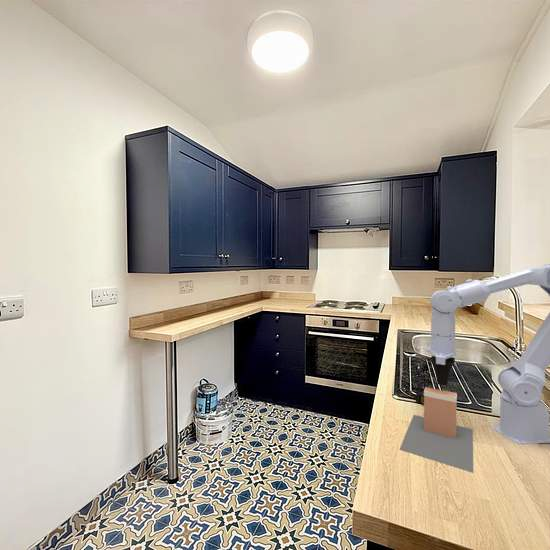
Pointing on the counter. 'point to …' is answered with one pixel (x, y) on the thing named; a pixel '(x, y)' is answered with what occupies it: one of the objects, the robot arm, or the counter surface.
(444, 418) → the salmon pink box
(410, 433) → the charcoal mat
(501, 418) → the robot arm
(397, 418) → the counter surface
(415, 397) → the tape measure
